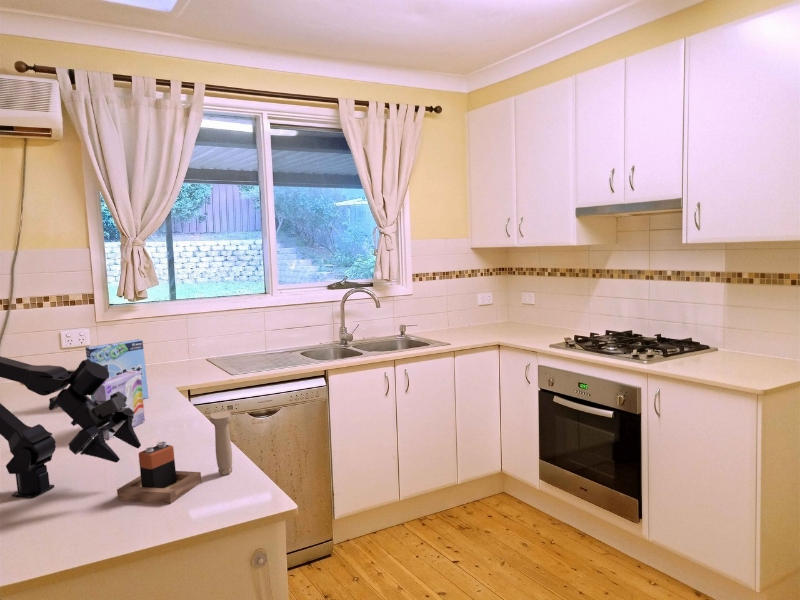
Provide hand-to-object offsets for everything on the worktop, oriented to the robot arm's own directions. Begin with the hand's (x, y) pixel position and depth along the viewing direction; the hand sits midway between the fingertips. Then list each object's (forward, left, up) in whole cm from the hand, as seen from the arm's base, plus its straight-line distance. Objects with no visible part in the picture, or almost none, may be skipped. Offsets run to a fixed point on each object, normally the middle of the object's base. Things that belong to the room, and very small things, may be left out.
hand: (129, 453), depth 142 cm
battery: (+7, +1, -8) cm, 11 cm away
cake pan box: (-37, +41, -9) cm, 56 cm away
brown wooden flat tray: (+7, +1, -9) cm, 11 cm away
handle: (+17, +13, -9) cm, 23 cm away
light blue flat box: (-63, +72, -9) cm, 96 cm away
